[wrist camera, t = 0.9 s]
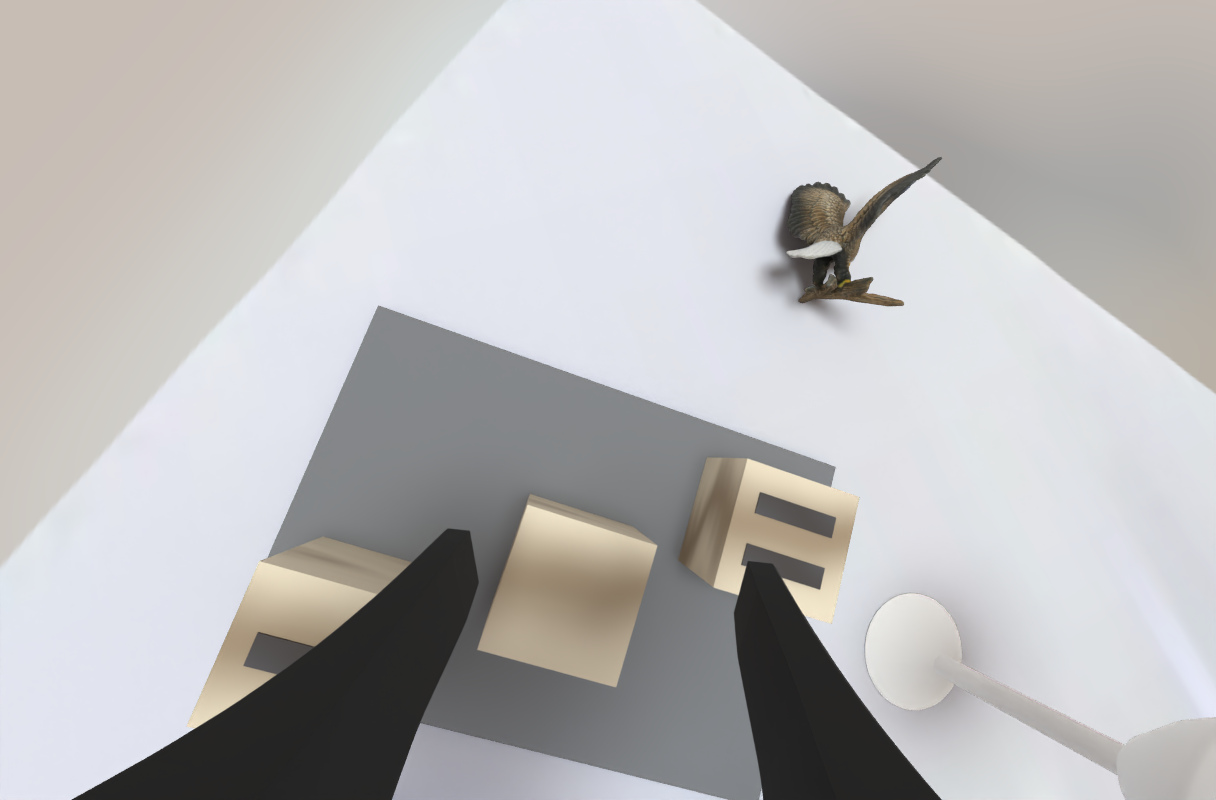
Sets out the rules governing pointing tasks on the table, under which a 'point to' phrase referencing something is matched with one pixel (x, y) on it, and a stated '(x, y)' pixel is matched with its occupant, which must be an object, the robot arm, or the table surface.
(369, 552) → the one-bar birch block
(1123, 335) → the table surface
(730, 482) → the two-bar birch block
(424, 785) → the table surface
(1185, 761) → the champagne flute
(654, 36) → the table surface
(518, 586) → the plain birch block
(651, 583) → the charcoal rubber mat
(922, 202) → the table surface
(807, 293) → the eagle figurine
